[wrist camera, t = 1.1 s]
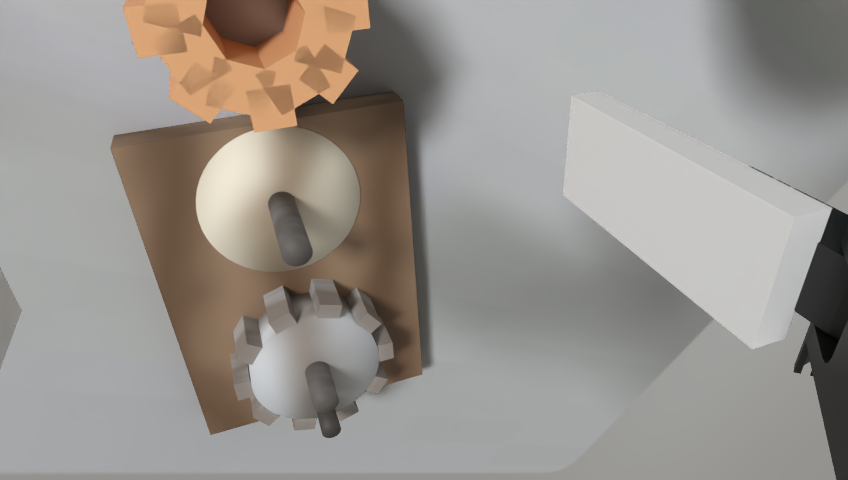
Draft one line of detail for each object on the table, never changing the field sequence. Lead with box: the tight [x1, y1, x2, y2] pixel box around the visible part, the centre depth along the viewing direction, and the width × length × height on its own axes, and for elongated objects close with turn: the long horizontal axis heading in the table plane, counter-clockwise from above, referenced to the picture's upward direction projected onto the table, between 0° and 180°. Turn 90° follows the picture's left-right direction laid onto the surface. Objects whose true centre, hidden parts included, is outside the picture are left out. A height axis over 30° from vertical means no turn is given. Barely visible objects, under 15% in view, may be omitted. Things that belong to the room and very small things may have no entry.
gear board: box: [110, 91, 422, 438], centre depth 38 cm, size 16×22×8 cm
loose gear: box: [123, 0, 370, 133], centre depth 25 cm, size 9×9×4 cm
